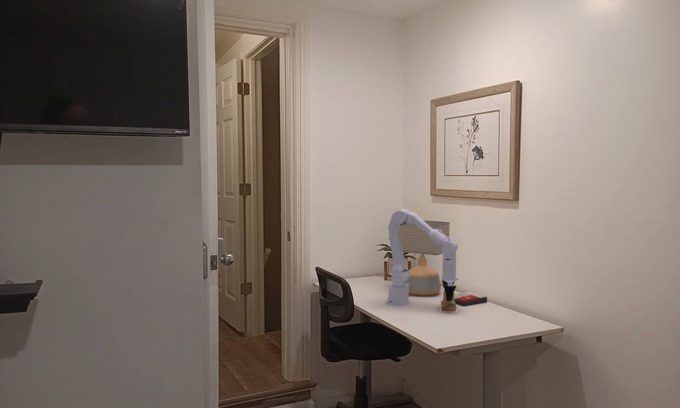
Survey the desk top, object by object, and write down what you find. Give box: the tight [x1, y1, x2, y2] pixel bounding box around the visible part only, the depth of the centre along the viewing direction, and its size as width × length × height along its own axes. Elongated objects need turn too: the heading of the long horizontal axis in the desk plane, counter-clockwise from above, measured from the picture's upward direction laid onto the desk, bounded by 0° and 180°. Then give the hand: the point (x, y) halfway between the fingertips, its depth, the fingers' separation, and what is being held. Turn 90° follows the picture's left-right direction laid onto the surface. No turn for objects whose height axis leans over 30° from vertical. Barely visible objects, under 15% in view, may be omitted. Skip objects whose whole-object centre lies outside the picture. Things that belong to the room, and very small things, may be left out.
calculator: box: [454, 291, 488, 307], centre depth 240 cm, size 11×4×15 cm
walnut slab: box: [440, 300, 457, 313], centre depth 227 cm, size 6×6×3 cm
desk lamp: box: [400, 219, 450, 297], centre depth 258 cm, size 22×19×37 cm
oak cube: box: [442, 290, 455, 304], centre depth 227 cm, size 4×4×4 cm
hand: (448, 298), depth 227 cm, fingers open, 7 cm apart
